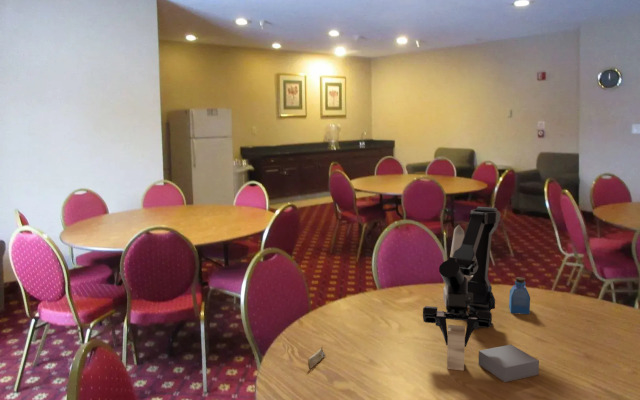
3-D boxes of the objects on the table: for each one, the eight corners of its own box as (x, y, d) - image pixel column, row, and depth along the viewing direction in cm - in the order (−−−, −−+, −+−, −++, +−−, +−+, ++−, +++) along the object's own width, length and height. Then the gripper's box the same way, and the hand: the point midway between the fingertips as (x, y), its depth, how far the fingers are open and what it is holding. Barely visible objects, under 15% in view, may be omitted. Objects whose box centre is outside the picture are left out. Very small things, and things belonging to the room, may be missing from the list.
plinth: (510, 357, 150) (511, 344, 150) (538, 374, 140) (539, 360, 140) (478, 364, 147) (478, 350, 146) (504, 382, 136) (505, 367, 136)
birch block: (447, 361, 149) (448, 324, 147) (463, 363, 147) (464, 326, 146) (447, 368, 144) (447, 330, 143) (463, 370, 143) (464, 332, 142)
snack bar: (310, 370, 145) (310, 360, 145) (305, 369, 146) (305, 359, 145) (326, 356, 154) (325, 346, 153) (321, 355, 154) (321, 345, 154)
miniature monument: (441, 297, 202) (443, 221, 197) (469, 298, 200) (471, 221, 196) (444, 307, 192) (445, 227, 187) (473, 308, 190) (476, 227, 186)
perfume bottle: (527, 308, 189) (528, 276, 187) (529, 314, 183) (530, 281, 181) (509, 307, 191) (510, 275, 189) (510, 313, 185) (512, 280, 183)
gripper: (423, 279, 149) (420, 331, 140) (492, 283, 144) (493, 337, 135) (425, 296, 157) (422, 346, 148) (490, 301, 152) (491, 353, 144)
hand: (456, 345), depth 144 cm, fingers closed on birch block, 4 cm apart
